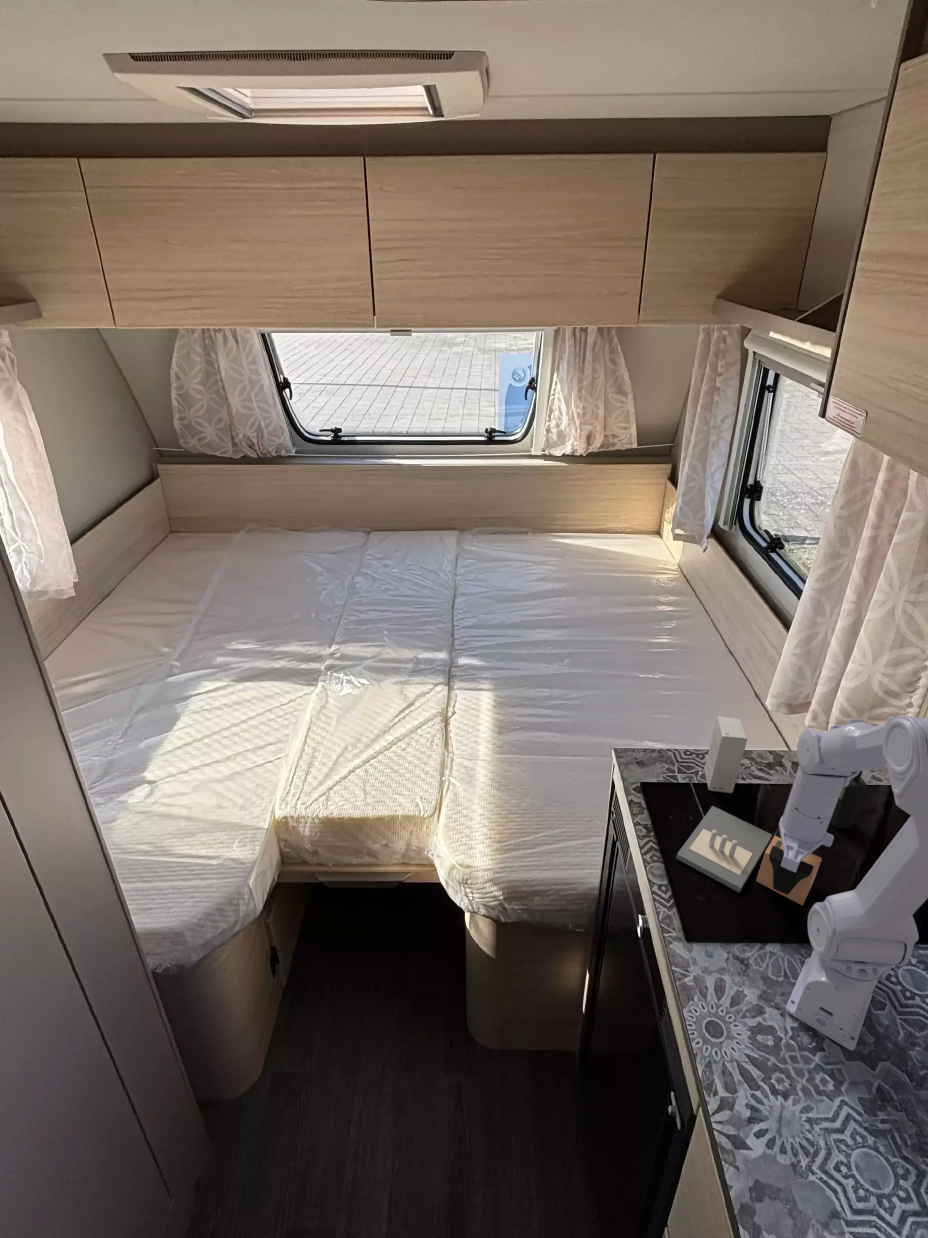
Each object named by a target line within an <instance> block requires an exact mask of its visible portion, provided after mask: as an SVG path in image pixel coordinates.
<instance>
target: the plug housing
mask: <svg viewBox="0 0 928 1238" xmlns="http://www.w3.org/2000/svg"><path fill="white" fill-rule="evenodd" d="M772 846H775V847H778V848H780V849H782V850H783V845H782V840H781V837H779V836H777V835H774V836H773V838H771V840H770V842H769V844H768V845H767V847H766V849H765V850H764V854H763V857H762V861H761V863H760V868H759V870H758V872H757V873H758V874H757V875H756V876H757V877H756V880H755V882H757V883H759V884H760V885H762V886H764V887H766V888H768V889H769V890H772V891H774V892H776V893H778V894H780V895H781V896H783V897H785V898H787V899H789V900H790V901H793V902H795V903H796V904H798V905H801V906H802V907H803V906H804V903H805V901H806V899H807V897H808V895H809V894H810V893H809V892H810V891H811V889H812V886H813V883H814V881H815V878H816V876H817V873H818V870H819V868H820V866H821V862H822V859H823V858H822V857H820V856H818V855H816V854H814V853H813V852H811V853H810V854H809V855H808V856H806V857H805V858H804V859H803V860H801V861H804V862H806V863H808V864H811V865H813V866H814V867H813V870H812V873H811V874H810V876H809V877H807V878H804V879H802V880H800V881H799V882H798V883H797V884H796V886H795V887H794V888H793V890H792V891H791V892H790V893H789V894H788V895H786V894H784V893H782V892H780V891H778V890H776V889H774V888H773V867H772V864H771V862H770V860H769V854H770V851H771V849H772Z"/></svg>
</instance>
